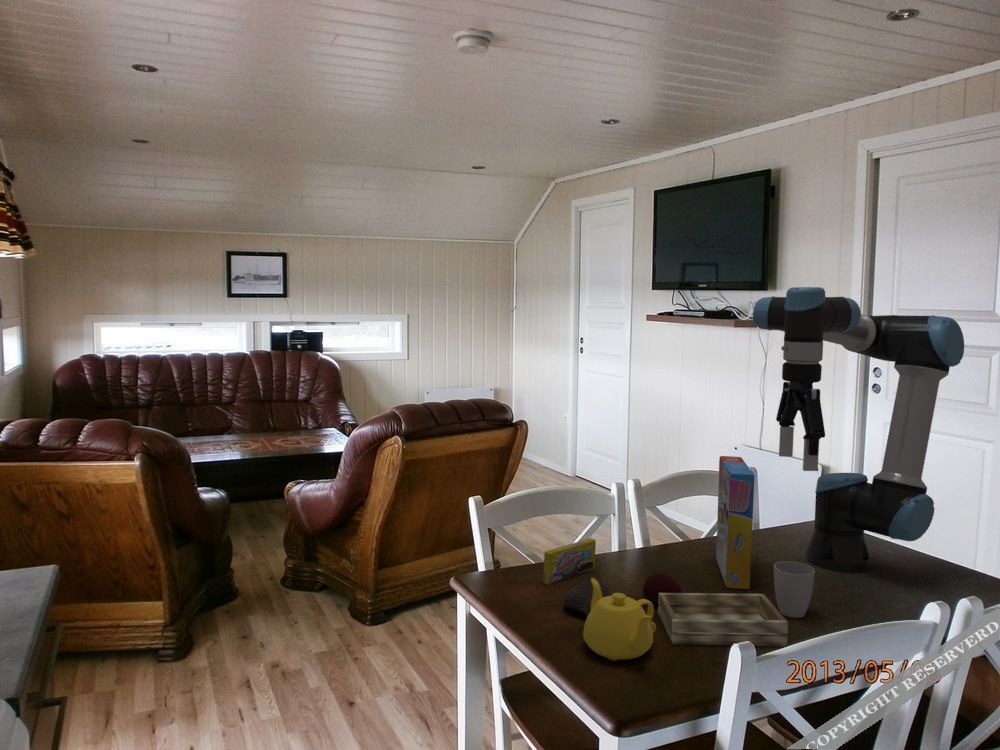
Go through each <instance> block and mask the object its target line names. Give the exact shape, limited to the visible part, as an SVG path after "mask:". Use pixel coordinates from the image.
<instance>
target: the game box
mask: <svg viewBox="0 0 1000 750" xmlns="http://www.w3.org/2000/svg"><path fill="white" fill-rule="evenodd" d="M717 486H718V487H717V488H718V491H717V492H718V494H717V495H718V496H717V517H716V518H717V522H716V524H717V525H716V554H715V555H716V558H715V559H716V561H717V564H718V568H719V570H720V573H721V576H722V579H723V581H724V582H723V583H724V584H725V588H728V589H736V590H737V589H740V590H750V589H751V567H752V566H751V565H752V548H753V547H752V544H753V542H752V541H753V521H754V499H755V498H754V495H755V473H753V471H752V470H751V468H750V467H749V466H748V465H747V463H746V462H745V460H744V459H743V457H741V456H730V455H729V456H728V455H720V456H719V459H718V485H717Z"/></svg>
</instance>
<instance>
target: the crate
mask: <svg viewBox="0 0 1000 750" xmlns="http://www.w3.org/2000/svg"><path fill="white" fill-rule="evenodd" d="M658 603H659V605H657V608H658V609H657V614H658V616H659V620H660V621H661V623H662V625H663V627H664V630H665V632H666V634H667V635H668V637H669V639H670V641H671V644H672V645H702V646H703V645H704V646H706V645H707V646H708V645H709V646H733V645H732V644H733V643H737V642H742V641H751V642H753V643H754V644H755V645H756V647H758V646H759V647H788V635H787V634H789V633H788V632H789V631H788V630H789V622H788V620H787V619H786V618H785V617H784V615H783V614H781V613H780V612H779V609H778V608H776V607H775V606H774V604H773V603H772V601H770V600H769V599H768V597H767V596H766V594H764V593H715V592H714V593H711V592H710V593H709V592H708V593H707V592H704V593H703V592H698V593H697V592H693V593H692V592H682V593H659V599H658Z"/></svg>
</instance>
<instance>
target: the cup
mask: <svg viewBox="0 0 1000 750" xmlns="http://www.w3.org/2000/svg"><path fill="white" fill-rule="evenodd" d="M815 572H816V570H815V568H814V567H813V566H811V565H809V564H806V563H803V562H798V561H791V560H790V561H787V560H785V561H782V560H781V561H777V562H776V563H774V564H773V582H774V583H773V585H774V593H775V601H776V604H777V607H778V608H777V609H778V611H779V613H780V614H781V615H782V616H785V617H789V618H792V619H793V618H794V619H795V618H796V619H797V618H799V619H800V618H804V617H805V615H806V614H807V611H808V608H809V606H810V602H811V600H812V594H813V589H814V582H815V581H814V580H815Z"/></svg>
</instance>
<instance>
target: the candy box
mask: <svg viewBox="0 0 1000 750" xmlns="http://www.w3.org/2000/svg"><path fill="white" fill-rule="evenodd" d="M596 542H597V540H596V539H594V538H592V537H589V538H586V539H584V540H583V539H582V540H579V541H576V542H573V543H569V544H566V545H562V546H559V547H555V548H552V549H549V550H545V551H544V553H543V554H544V556H543V574H542V575H543V576H542V577H543V578H542V584H544V585H546V584H547V585H546V586H550V585H553V584H555V583H554V582H556V583H559V582H561V580H562V581H564V579H565V580H567V578H568V579H570V577H571V578H573V576H574V577H577V576H580V575H583V574H586V573H588V572H589V571H590V572H591V571H592V570H593V571H595V566H596ZM585 572H586V573H585ZM582 573H583V574H582ZM579 574H580V575H579ZM576 575H577V576H576ZM558 581H559V582H558ZM552 583H553V584H552ZM549 584H550V585H549Z"/></svg>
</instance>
